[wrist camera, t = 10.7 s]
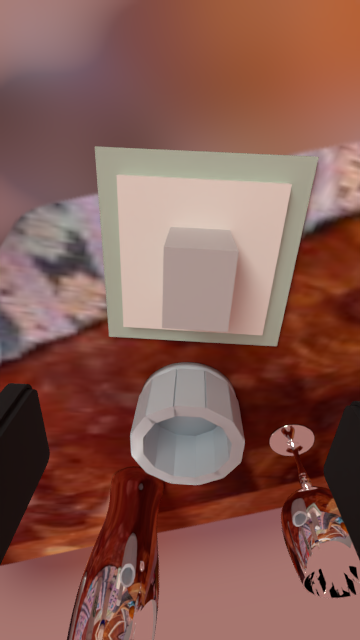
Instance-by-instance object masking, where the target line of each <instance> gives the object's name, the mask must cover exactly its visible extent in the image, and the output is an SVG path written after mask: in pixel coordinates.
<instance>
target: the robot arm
mask: <svg viewBox="0 0 360 640" xmlns="http://www.w3.org/2000/svg"><path fill="white" fill-rule="evenodd" d="M49 453H50V452H49V446H48V442H47V437H46V432H45V427H44V422H43V417H42V413H41V408H40V403H39V398H38V393H37V391H36V390H34V389H32V387H31V386H30V385H29V384H13V383H10V384H8V385H7V386H6V387H5V388H4V389H3V390H2V392H1V393H0V564H1V562H2V560H3V558H4V556H5V553H6V551H7V549H8V547H9V545H10V543H11V541H12V538H13V536H14V534H15V532H16V530H17V528H18V526H19V523H20V521H21V519H22V517H23V515H24V513H25V511H26V508H27V506H28V504H29V502H30V500H31V498H32V496H33V493H34V491H35V489H36V487H37V485H38V483H39V481H40V478H41V476H42V474H43V472H44V470H45V468H46V466H47V463H48V460H49ZM324 476H325V479H326V481H327V484H328V486H329V489H330V491H331V493H332V496H333V498H334V501H335V503H336V505H337V508H338V510H339V512H340V515H341V517H342V520H343V522H344V524H345V527H346V529H347V531H348V534H349V536H350V539H351V541H352V543H353V546H354V548H355V551H356V553H357V555H358V558H359V560H360V401H353V402H352V403H351V405H350V406H346V408H345V409H344V412H343V415H342V418H341V420H340V423H339V426H338V429H337V431H336V434H335V437H334V440H333V442H332V445H331V448H330V451H329V453H328V456H327V459H326V462H325V465H324Z"/></svg>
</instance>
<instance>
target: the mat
mask: <svg viewBox="0 0 360 640" xmlns="http://www.w3.org/2000/svg"><path fill="white" fill-rule="evenodd" d="M95 156H96V169H97V183H98V196H99V209H100V222H101V235H102V248H103V261H104V274H105V288H106V301H107V314H108V327H109V336H110V337H127V338H143V339H160V340H177V341H194V342H211V343H228V344H245V345H262V346H277V344H278V339H279V334H280V330H281V325H282V321H283V316H284V312H285V307H286V303H287V298H288V294H289V289H290V285H291V280H292V276H293V271H294V266H295V262H296V257H297V253H298V248H299V244H300V239H301V235H302V230H303V226H304V221H305V217H306V212H307V207H308V203H309V198H310V194H311V189H312V185H313V180H314V176H315V171H316V167H317V162H318V158H319V157H309V156H288V155H266V154H244V153H222V152H200V151H180V150H158V149H136V148H115V147H95ZM118 174H124V175H143V176H162V177H181V178H200V179H219V180H238V181H257V182H276V183H290V184H292V187H291V192H290V197H289V202H288V207H287V213H286V218H285V223H284V228H283V233H282V238H281V243H280V248H279V253H278V258H277V264H276V269H275V274H274V279H273V284H272V289H271V294H270V299H269V304H268V310H267V315H266V320H265V325H264V330H263V335H247V334H231V333H215V332H198V331H182V330H166V329H150V328H134V327H123V306H122V284H121V263H120V241H119V219H118V197H117V176H116V175H118Z"/></svg>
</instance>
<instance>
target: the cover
mask: <svg viewBox="0 0 360 640" xmlns="http://www.w3.org/2000/svg"><path fill="white" fill-rule="evenodd" d="M116 176H117V197H118V219H119V241H120V263H121V284H122V306H123V327H134V328H150V329H166V330H182V331H198V332H215V333H231V334H247V335H263V330H264V325H265V320H266V315H267V310H268V304H269V299H270V294H271V289H272V284H273V279H274V274H275V269H276V264H277V258H278V253H279V248H280V243H281V238H282V233H283V228H284V223H285V218H286V213H287V207H288V202H289V197H290V192H291V187H292V184H290V183H276V182H257V181H238V180H219V179H200V178H181V177H162V176H143V175H124V174H118V175H116Z"/></svg>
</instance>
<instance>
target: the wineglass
mask: <svg viewBox="0 0 360 640" xmlns="http://www.w3.org/2000/svg"><path fill="white" fill-rule="evenodd" d="M314 439H315V438H314V434H313V432H312V431H311V430H310V429H309V428H307V427H305V426H302V425H297V424H292V425H286V426H283V427H280V428H278V429H277V430H275V431H274V432H273V433H272V435H271V436H270V439H269V444H270V447H271V448H272V450H273V451H275V452H276V453H278V454H280V455H284V456H294V457H295V460H296V463H297V467H298V472H299V483H300V485H301V487H302V489H299V490H297V491H295V492H294V493H292V494H291V495H290V496H289V497H288V498H287V500H286V501H285V503H284V505H283V508H282V512H281V524H282V532H283V536H284V540H285V544H286V546H287V549H288V552H289V554H290V557H291V560H292V562H293V565H294V567H295V570H296V572H297V574H298V576H299V578H300V580H301V582H302V584H303V586H304V588H305V589H306V591H307V592H309V593H311V594H313V595H315V596H319V597H324V598H345V597H351V596H355V595H358V594H360V560H359V558H358V555H357V553H356V551H355V548H354V546H353V543H352V541H351V539H350V536H349V534H348V531H347V529H346V527H345V524H344V522H343V520H342V517H341V515H340V512H339V510H338V508H337V505H336V503H335V501H334V498H333V496H332V493H331V491H330V489H327V488H324V487H316V486H312V484H311V479H310V478H309V476H308V475H307V473H306V471H305V470H304V468H303V466H302V463H301V460H300V457H299V454H302V453H304V452H306V451H308V450H309V449H310V448H311V447H312V445H313V444H314Z"/></svg>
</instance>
